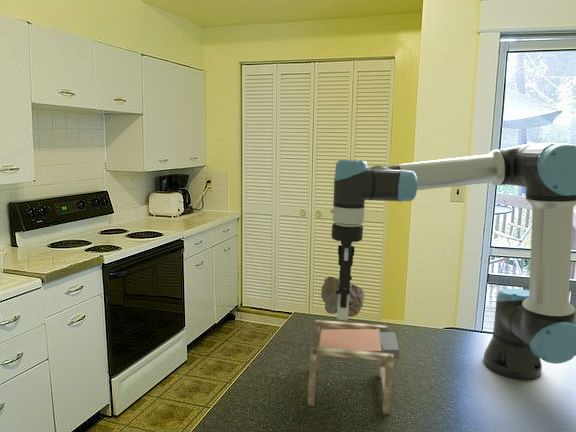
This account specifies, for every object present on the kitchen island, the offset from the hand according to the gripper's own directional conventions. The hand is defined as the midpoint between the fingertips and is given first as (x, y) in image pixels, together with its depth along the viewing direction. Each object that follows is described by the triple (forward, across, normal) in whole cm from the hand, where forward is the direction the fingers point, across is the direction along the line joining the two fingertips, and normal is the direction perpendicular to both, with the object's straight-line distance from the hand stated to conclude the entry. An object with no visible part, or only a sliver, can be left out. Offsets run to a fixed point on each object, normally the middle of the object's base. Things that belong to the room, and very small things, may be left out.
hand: (342, 311), depth 112 cm
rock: (+1, 0, +1) cm, 1 cm away
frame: (+21, 0, +3) cm, 21 cm away
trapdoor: (+10, 0, +5) cm, 11 cm away
